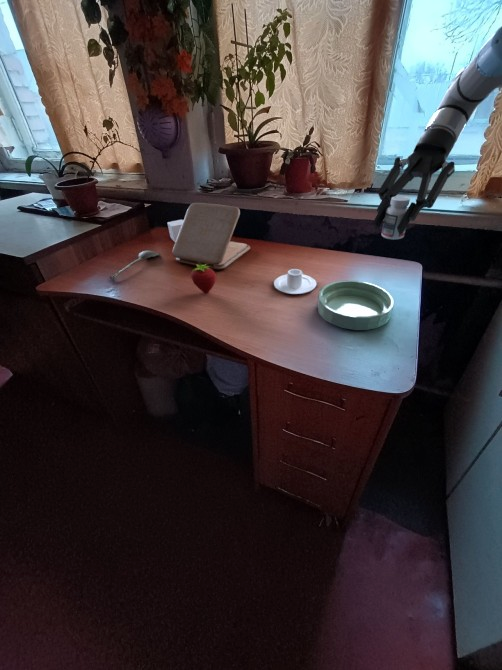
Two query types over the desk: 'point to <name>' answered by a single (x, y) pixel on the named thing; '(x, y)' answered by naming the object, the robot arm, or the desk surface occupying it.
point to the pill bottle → (395, 217)
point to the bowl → (355, 305)
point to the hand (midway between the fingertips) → (387, 228)
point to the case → (209, 236)
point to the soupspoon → (141, 256)
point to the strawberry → (203, 278)
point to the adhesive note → (174, 228)
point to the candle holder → (295, 282)
